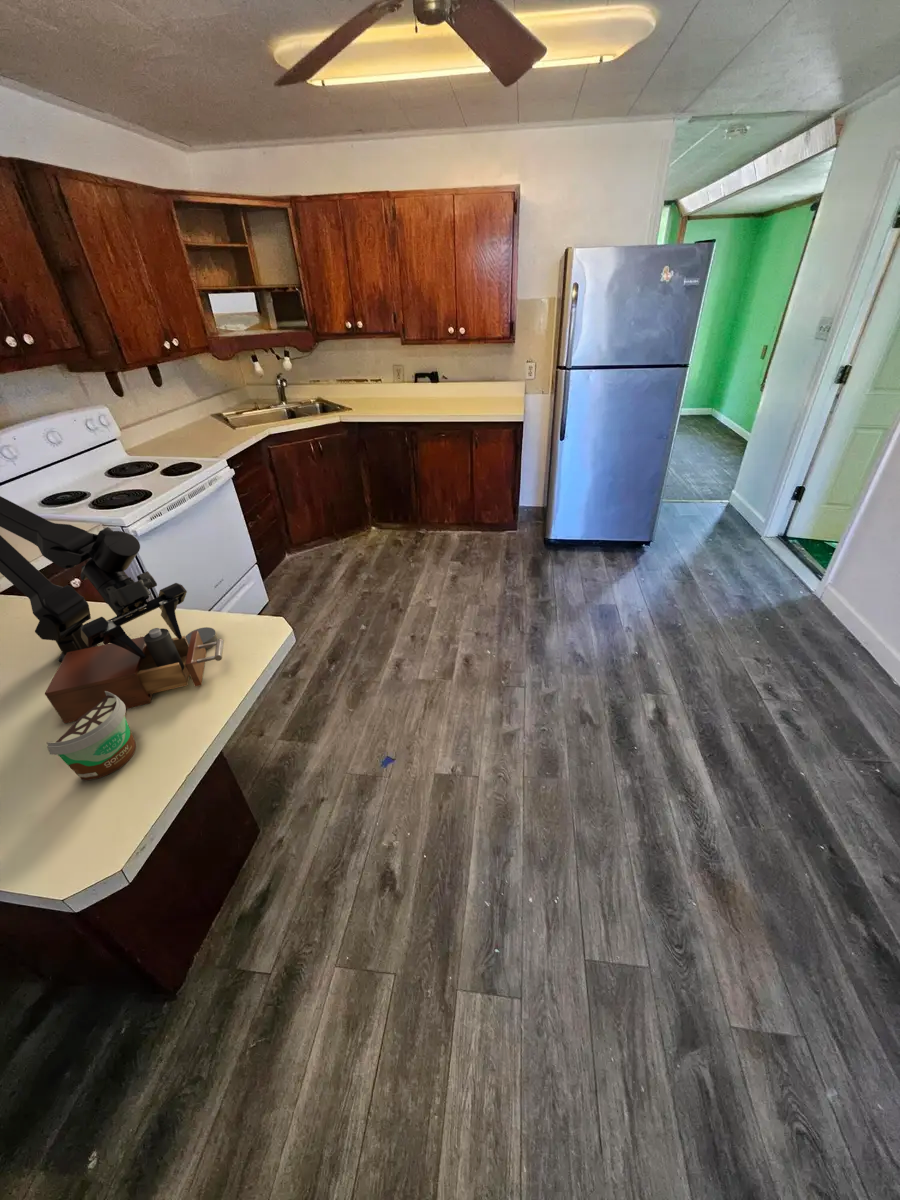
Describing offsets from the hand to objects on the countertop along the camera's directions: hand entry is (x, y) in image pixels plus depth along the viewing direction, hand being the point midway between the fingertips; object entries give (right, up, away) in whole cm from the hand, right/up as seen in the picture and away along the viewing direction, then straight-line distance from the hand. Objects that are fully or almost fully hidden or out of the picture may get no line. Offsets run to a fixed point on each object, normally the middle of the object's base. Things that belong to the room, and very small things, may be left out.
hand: (163, 647), depth 95 cm
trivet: (0, 0, +15) cm, 15 cm away
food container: (0, -18, -12) cm, 22 cm away
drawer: (+1, -6, +5) cm, 8 cm away
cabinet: (-11, -9, +2) cm, 14 cm away
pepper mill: (-1, -5, +4) cm, 6 cm away
